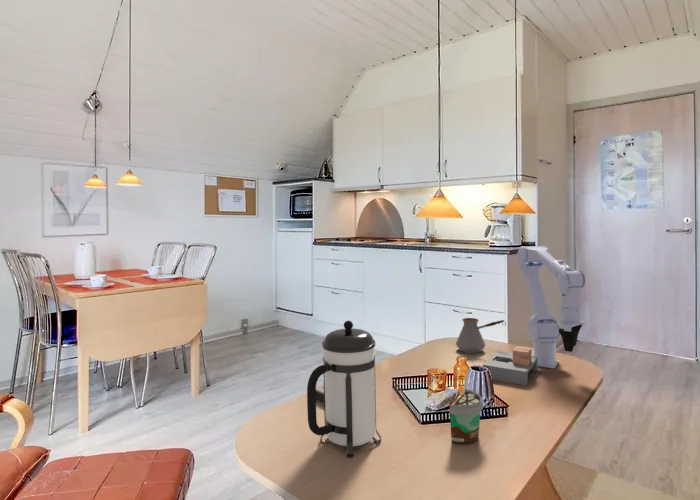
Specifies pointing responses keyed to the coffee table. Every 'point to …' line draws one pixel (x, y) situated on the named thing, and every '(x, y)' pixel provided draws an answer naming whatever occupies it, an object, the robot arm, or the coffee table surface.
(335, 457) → the coffee table surface
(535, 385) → the coffee table surface
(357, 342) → the coffee press
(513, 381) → the keyhole plate
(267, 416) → the coffee table surface
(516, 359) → the peg
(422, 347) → the coffee table surface
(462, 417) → the food container
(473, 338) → the coffee pot
